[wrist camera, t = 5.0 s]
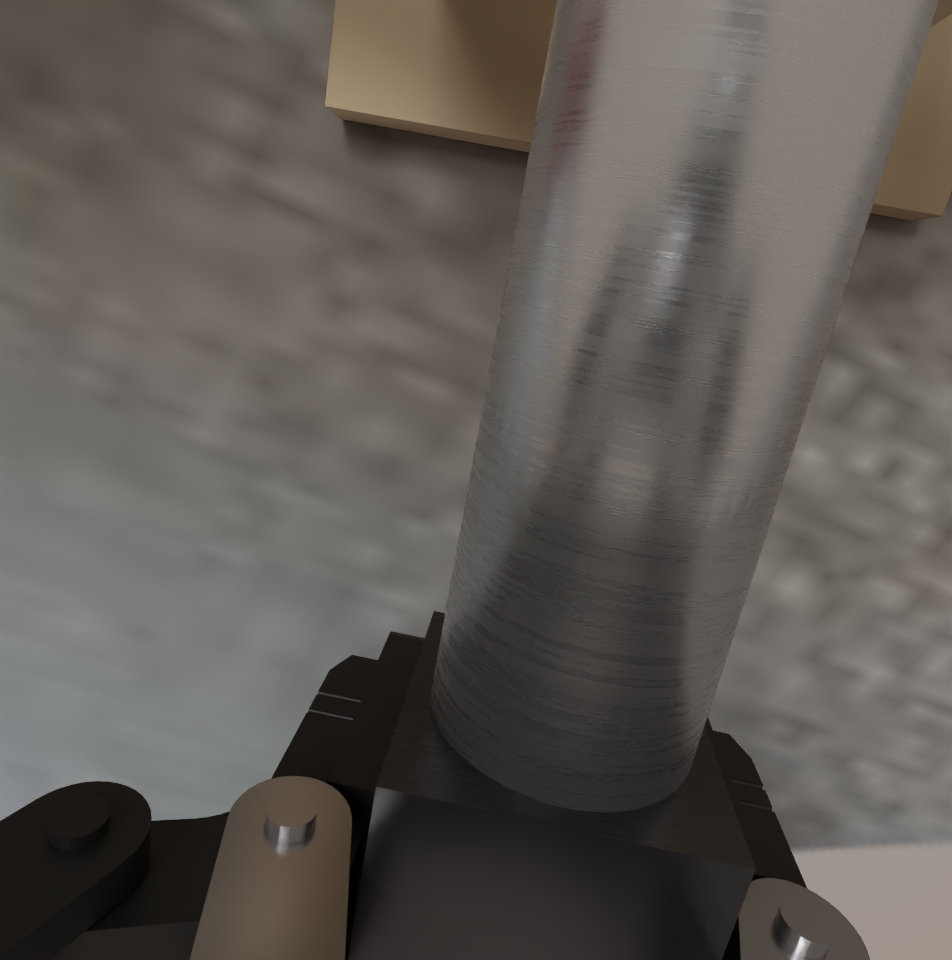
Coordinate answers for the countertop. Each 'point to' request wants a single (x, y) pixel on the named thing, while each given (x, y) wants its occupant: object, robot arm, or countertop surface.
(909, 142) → the block
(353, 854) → the robot arm
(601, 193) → the shaft
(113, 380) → the countertop surface
